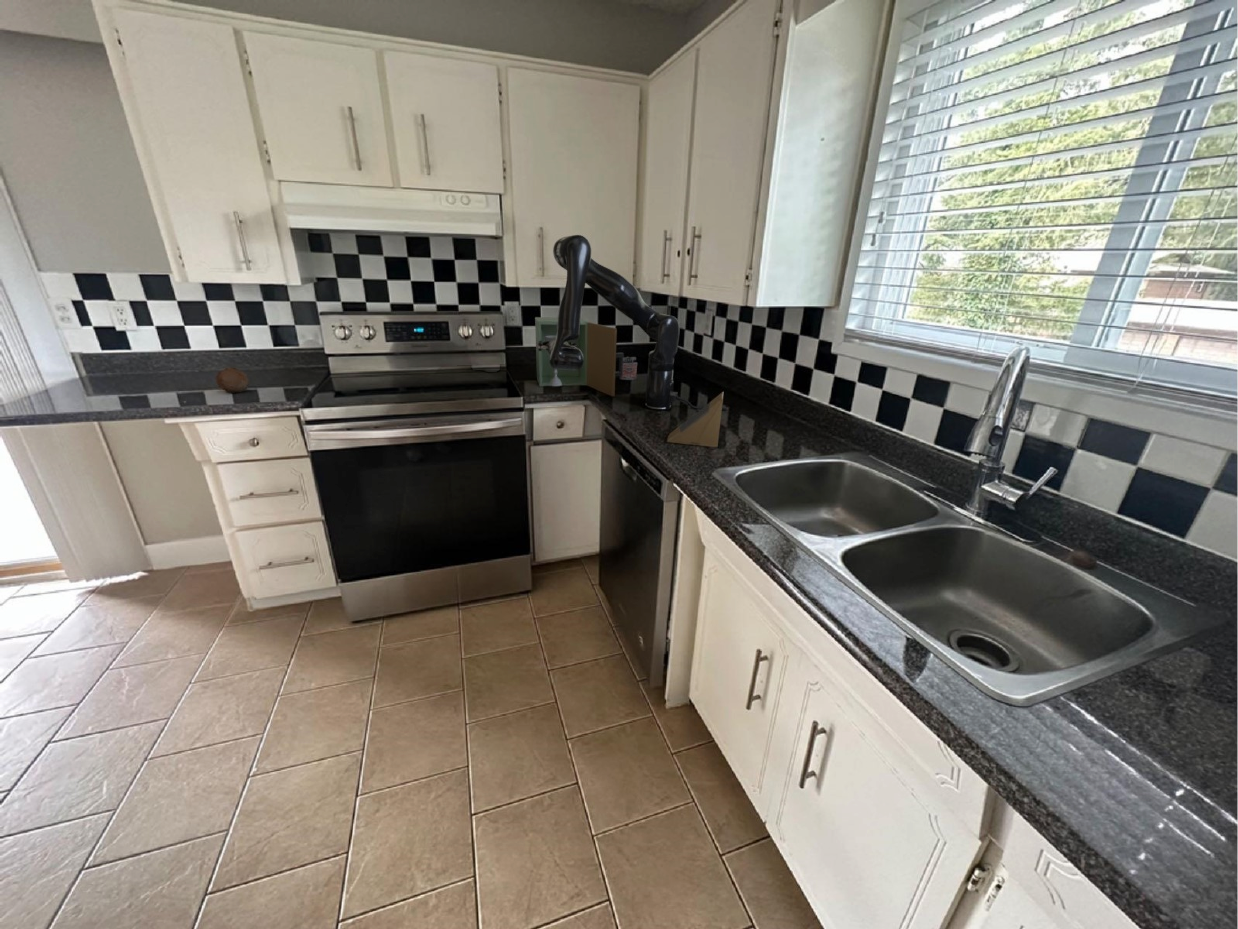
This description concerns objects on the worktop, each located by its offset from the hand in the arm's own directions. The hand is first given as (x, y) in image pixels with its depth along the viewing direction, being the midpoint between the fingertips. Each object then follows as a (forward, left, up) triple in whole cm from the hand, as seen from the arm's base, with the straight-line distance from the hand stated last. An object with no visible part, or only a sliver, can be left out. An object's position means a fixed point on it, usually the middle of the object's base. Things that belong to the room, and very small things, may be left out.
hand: (554, 342), depth 188 cm
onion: (+110, +43, -21) cm, 120 cm away
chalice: (-1, +2, -16) cm, 16 cm away
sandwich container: (-59, +31, -21) cm, 70 cm away
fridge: (+7, -23, -21) cm, 32 cm away
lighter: (-18, -41, -21) cm, 50 cm away
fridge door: (-15, -17, -20) cm, 31 cm away
